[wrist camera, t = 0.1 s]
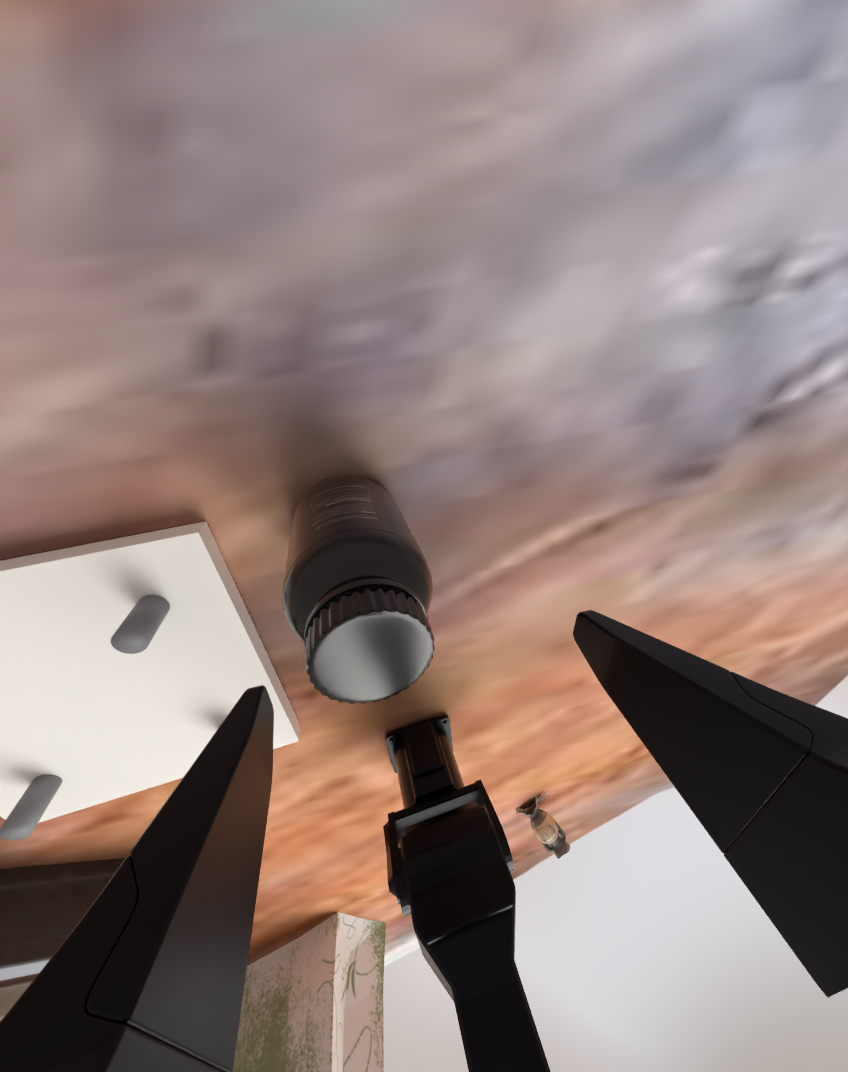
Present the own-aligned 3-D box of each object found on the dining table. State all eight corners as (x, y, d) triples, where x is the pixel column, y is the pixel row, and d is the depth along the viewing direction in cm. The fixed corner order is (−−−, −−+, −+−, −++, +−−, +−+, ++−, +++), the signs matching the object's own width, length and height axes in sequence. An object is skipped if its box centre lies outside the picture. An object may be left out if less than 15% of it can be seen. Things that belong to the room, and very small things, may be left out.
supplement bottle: (278, 550, 22) (243, 715, 12) (315, 455, 20) (310, 556, 10) (374, 577, 25) (412, 729, 15) (415, 495, 23) (492, 607, 13)
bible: (-114, 1004, 33) (-262, 1226, 25) (-40, 842, 27) (-206, 1067, 18) (160, 967, 44) (123, 1113, 35) (259, 846, 37) (242, 988, 29)
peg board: (299, 724, 30) (297, 778, 26) (33, 805, 26) (-15, 882, 23) (206, 521, 20) (179, 559, 16) (-236, 606, 17) (-401, 680, 13)
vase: (558, 799, 52) (582, 850, 47) (527, 815, 53) (547, 867, 48) (545, 790, 49) (569, 843, 44) (513, 807, 50) (532, 861, 45)
